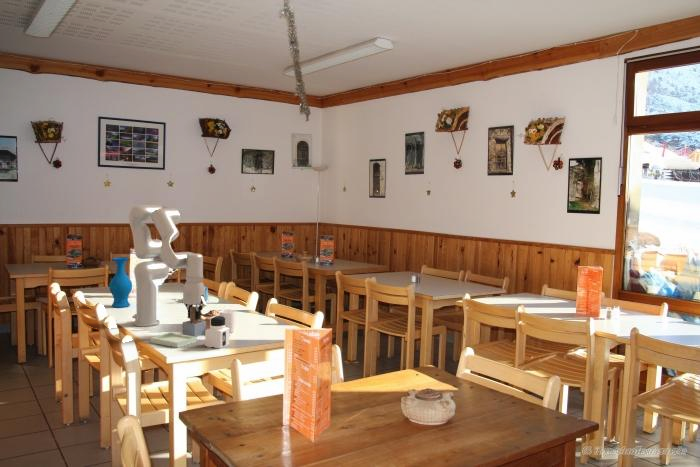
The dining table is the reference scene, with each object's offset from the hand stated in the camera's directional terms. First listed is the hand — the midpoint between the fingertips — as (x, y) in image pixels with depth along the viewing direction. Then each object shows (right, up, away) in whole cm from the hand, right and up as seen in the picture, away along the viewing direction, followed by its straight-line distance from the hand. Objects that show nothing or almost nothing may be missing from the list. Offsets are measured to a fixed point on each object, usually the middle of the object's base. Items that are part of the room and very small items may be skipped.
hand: (194, 318), depth 285 cm
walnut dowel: (0, -8, +1) cm, 8 cm away
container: (+15, -10, -19) cm, 26 cm away
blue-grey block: (0, -8, +1) cm, 8 cm away
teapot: (-21, -2, +85) cm, 87 cm away
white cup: (+14, -8, +8) cm, 18 cm away
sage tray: (-5, -9, -15) cm, 18 cm away
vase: (-59, -2, +64) cm, 87 cm away
